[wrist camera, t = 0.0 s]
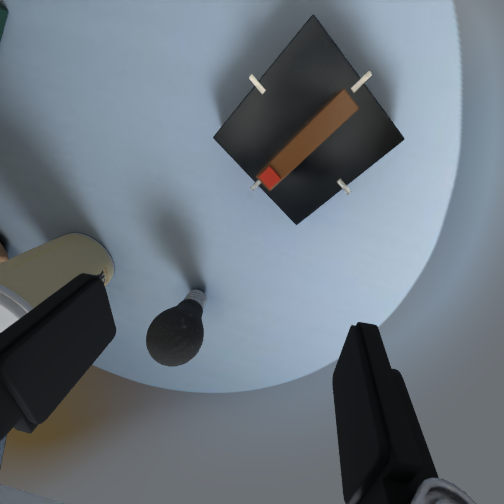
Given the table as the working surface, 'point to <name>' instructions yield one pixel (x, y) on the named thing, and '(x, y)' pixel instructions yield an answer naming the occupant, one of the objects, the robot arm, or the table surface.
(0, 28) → the button box
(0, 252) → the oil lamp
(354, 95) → the clamp block
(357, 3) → the table surface
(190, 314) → the light bulb
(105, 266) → the coffee cup
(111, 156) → the table surface
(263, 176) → the wooden rectangular beam
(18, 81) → the table surface
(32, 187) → the table surface
